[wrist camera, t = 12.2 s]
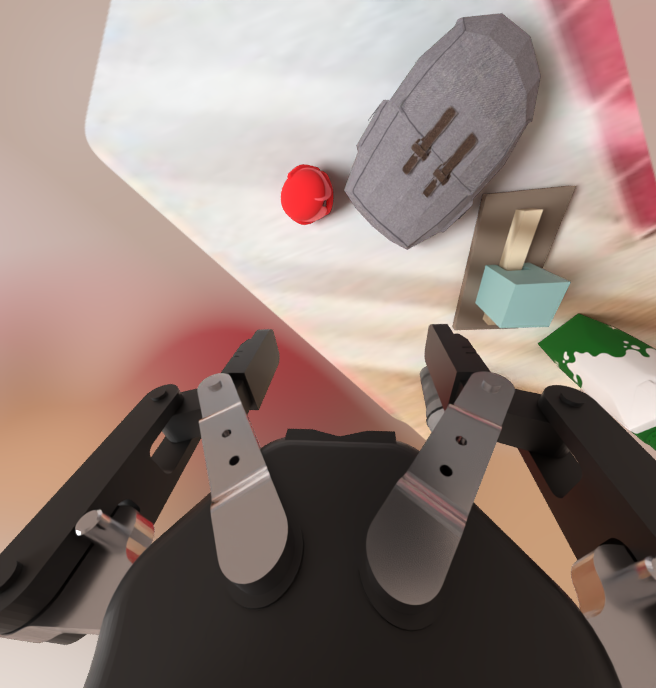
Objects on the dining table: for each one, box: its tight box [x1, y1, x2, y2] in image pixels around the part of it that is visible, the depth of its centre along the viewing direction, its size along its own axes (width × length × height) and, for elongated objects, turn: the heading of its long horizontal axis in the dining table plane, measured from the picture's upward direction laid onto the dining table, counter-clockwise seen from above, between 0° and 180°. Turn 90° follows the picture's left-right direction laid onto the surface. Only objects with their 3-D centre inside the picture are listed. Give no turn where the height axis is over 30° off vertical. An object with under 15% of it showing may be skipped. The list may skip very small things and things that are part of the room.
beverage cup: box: [420, 366, 444, 432], centre depth 40 cm, size 7×7×20 cm
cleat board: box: [452, 186, 576, 330], centre depth 34 cm, size 20×10×3 cm, turn 5°
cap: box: [281, 164, 334, 225], centre depth 31 cm, size 8×6×6 cm
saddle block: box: [475, 263, 571, 328], centre depth 33 cm, size 6×6×8 cm
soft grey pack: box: [344, 13, 541, 250], centre depth 26 cm, size 15×8×20 cm
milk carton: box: [538, 314, 656, 450], centre depth 33 cm, size 9×9×20 cm
